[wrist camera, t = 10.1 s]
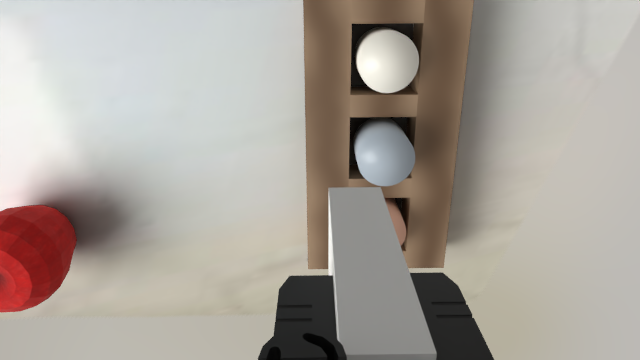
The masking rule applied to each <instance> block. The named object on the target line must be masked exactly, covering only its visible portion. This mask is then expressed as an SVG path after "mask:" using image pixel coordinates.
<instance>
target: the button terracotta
mask: <svg viewBox="0 0 640 360" xmlns="http://www.w3.org/2000/svg"><path fill="white" fill-rule="evenodd" d="M384 199H385V202H386V205H387V207H388V210H389V213H390V216H391V219H392V222H393V225H394V228H395V231H396V234H397V237H398V240H399V243H400V246H401V245H402V244H403V242H404V240H405V237H406V226H405V223H404V221H403V218H402V216H401V213H400V210H399V208H398V205H397V203H396V200H395V199H394V198H384Z"/></svg>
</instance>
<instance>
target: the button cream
mask: <svg viewBox="0 0 640 360" xmlns="http://www.w3.org/2000/svg"><path fill="white" fill-rule="evenodd" d="M354 62H355V66H356V68H357V70H358V72H359V74H360V75H361V77H362V79H363V81H364V82H365V83H366V84H367V85H368V86H369V87H370V88H371V89H373V90H375V91H378V92H381V93H393V92H397V91H399V90H401V89H403V88H405V87H406V86H407V85H408V84H409V83H410V82H411V81H412V80H413V78H414V77H415V75H416V73H417V70H418V66H419V55H418V51H417V48H416V46H415V45H414V43H413V42H412V41H411V40H410V39H409V38H408V37H407V36H405V35H404V34H402V33H400V32H397V31H395V30H393V29H391V28H387V27H377V28H373V29H371V30H369V31H367V32H366V33H364V34H363V35H362V36H361V37H360V39H359V40H358V42H357V44H356V46H355V50H354Z"/></svg>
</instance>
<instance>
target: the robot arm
mask: <svg viewBox="0 0 640 360" xmlns="http://www.w3.org/2000/svg"><path fill="white" fill-rule="evenodd" d="M328 269H329V275H323V276H289V277H288V279H287V280H286V281H285V283H284V284H283V285H282V286H281V288H280V289H279V295H278V303H277V312H276V322H275V329H274V336H273V337H272V338H271V339H270V340H269V341H268V342H267V343H266V344H265V345H264V346H263V348H262V350H261V353H260V355H259V357H258V360H494V359H493V357H492V354H491V352H490V350H489V348H488V346H487V345H486V342H485V340H484V338H483V337H482V334H481V332H480V330H479V328H478V326H477V324H476V322H475V320H474V318H472V313H471V311H470V309H469V307H468V305H466V301H465V299H464V297H463V295H462V293H461V291H460V289H459V287H458V285H456V284H455V283H454V282H453V281H452V280H451V279H449V278H448V277H447V276H446V275H445V274H444V273H409V270H408V267H407V264H406V261H405V258H404V255H403V252H402V249H401V246H400V243H399V240H398V237H397V234H396V231H395V228H394V225H393V222H392V219H391V216H390V213H389V210H388V207H387V205H386V202H385V199H384V196H383V193H382V190H381V187H343V188H329V240H328Z"/></svg>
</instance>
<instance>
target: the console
mask: <svg viewBox="0 0 640 360" xmlns="http://www.w3.org/2000/svg"><path fill="white" fill-rule="evenodd" d="M473 3H474V0H303V5H304V61H305V117H306V172H307V228H308V269H328V240H329V188H343V187H381V190H382V193H383V196H384V198H402V203H401V216H402V218H403V221H404V223H405V226H406V237H405V240H404V242H403V244H402V245H401V249H402V252H403V255H404V258H405V261H406V264H407V267H408V268H444V259H445V250H446V242H447V233H448V224H449V215H450V206H451V197H452V189H453V180H454V171H455V162H456V153H457V145H458V136H459V127H460V118H461V109H462V100H463V92H464V83H465V74H466V65H467V56H468V48H469V39H470V30H471V21H472V12H473ZM385 23H414V27H413V43H414V45H415V46H416V48H417V51H418V55H419V66H418V70H417V73H416V75H415V77H414V78H413V80H412V81H411V82H410V86H406V87H405V88H403V89H401V90H399V91H397V92H393V93H381V92H378V91H375V90H373V89H371V88H370V87H369V86H358V87H351V38H352V24H385ZM350 117H407V130H406V136H407V138H408V140H409V141H410V143H411V144H412V146H413V148H414V151H415V164H414V167H413V169H412V171H411V173H410V174H409V175H408V176H407V177H406V178H405V179H404V180H403V181H401V182H400V183H397V184H395V185H391V186H378V185H375V184H372V183H370V182H369V181H367V180H366V179H365V178H364V177H363V176H362V174H361V172H360V170H359V168H358V164H349V140H350Z"/></svg>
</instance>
